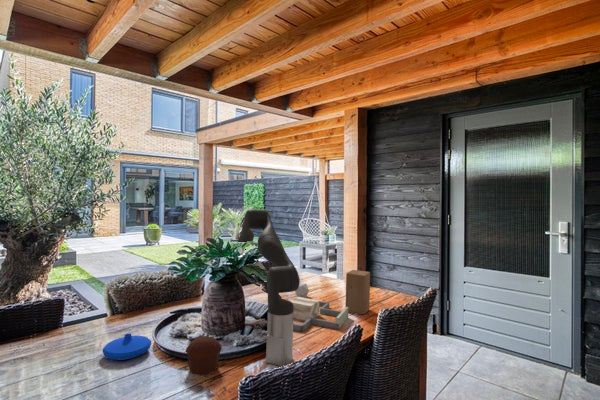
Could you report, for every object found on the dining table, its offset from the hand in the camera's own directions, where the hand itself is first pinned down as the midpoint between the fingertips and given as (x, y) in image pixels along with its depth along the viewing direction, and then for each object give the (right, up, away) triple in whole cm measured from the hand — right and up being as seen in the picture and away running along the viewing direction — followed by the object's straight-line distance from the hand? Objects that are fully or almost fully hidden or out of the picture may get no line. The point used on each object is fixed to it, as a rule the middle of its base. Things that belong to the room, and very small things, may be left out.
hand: (279, 299), depth 168 cm
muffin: (-22, -6, -57) cm, 61 cm away
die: (+11, -7, +26) cm, 29 cm away
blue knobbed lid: (-52, -6, -48) cm, 71 cm away
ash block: (+12, -7, -5) cm, 15 cm away
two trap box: (+18, -7, -8) cm, 21 cm away
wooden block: (+40, -8, +5) cm, 41 cm away
